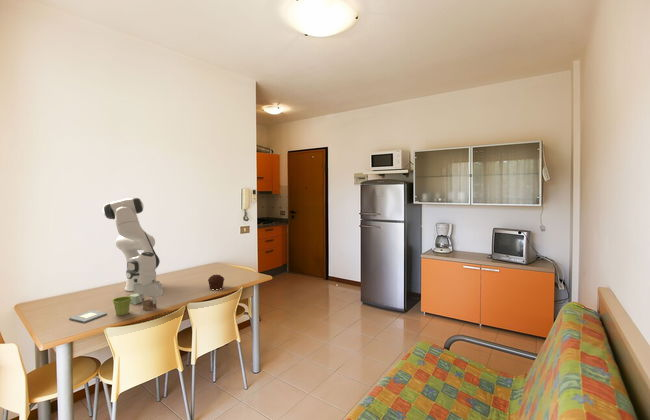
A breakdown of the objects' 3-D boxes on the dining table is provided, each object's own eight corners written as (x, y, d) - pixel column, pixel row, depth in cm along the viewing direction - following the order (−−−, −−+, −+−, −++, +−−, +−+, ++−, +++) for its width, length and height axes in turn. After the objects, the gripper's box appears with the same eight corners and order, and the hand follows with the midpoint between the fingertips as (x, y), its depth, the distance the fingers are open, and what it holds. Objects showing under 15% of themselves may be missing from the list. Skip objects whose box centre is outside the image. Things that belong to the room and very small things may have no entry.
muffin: (227, 287, 229) (227, 274, 228) (216, 292, 219) (216, 278, 218) (215, 285, 234) (215, 272, 233) (204, 289, 224) (204, 275, 223)
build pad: (92, 311, 180) (92, 309, 180) (106, 314, 176) (106, 312, 176) (69, 319, 169) (69, 317, 169) (84, 323, 165) (84, 321, 165)
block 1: (136, 300, 199) (136, 293, 199) (142, 301, 197) (142, 294, 197) (129, 303, 194) (129, 295, 194) (135, 304, 193) (135, 296, 192)
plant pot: (118, 310, 183) (118, 296, 182) (135, 310, 183) (135, 296, 183) (108, 317, 173) (108, 301, 173) (126, 316, 174) (126, 301, 174)
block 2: (149, 306, 190) (149, 298, 190) (156, 307, 188) (156, 299, 188) (142, 309, 185) (142, 301, 185) (149, 310, 184) (148, 302, 183)
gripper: (165, 280, 184) (165, 302, 185) (140, 276, 192) (140, 298, 192) (156, 282, 179) (156, 306, 179) (130, 278, 186) (131, 301, 186)
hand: (148, 302), depth 186 cm, fingers open, 8 cm apart
